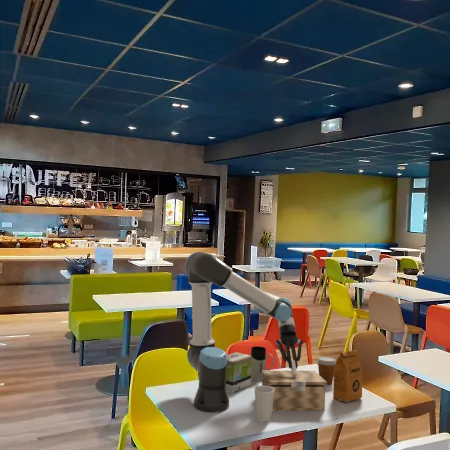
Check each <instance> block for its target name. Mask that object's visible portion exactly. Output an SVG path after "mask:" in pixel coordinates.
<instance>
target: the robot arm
mask: <svg viewBox="0 0 450 450" xmlns="http://www.w3.org/2000/svg"><path fill="white" fill-rule="evenodd" d="M184 267H185V270H186V272H187V276H188V278H187V279H188V281H187V283H189V285H190V286H191V310H192V311H191V313H192V319H191V320H192V339H191V340H189V347H188V349H187V352H186V353H187V354H186V358H187V360H188V363H189V365H190V366H191V367H192V368H193V369H195V371H197V373H198V387H197V391H196V393H195V396H194V399H193V406H194V407H195V409H197V410H199V411H202V412H206V413H216V412H222V411H226V410H228V409H229V407H230V398H229V395H228V391H226V368H227V355H228V354H227V353H226V351H225V350H223V349H222V348H218V347H216V340H215V339H214V338H213V336H212V333H213V332H212V291H211V290H212V289H211V288H212V285H213V284H214V285H216V286H218V287H219V288H222V287H223V288H225V289H227V290H228V291H230V292H232V293H234V295H236V296H238V297H239V298H241V299H243V300H245V301H247V303H249V304H251V305H253V309H254V311H255V312H257V313H259V314H262V315H266V316H268V317H271V318H273V319H275V320H277V322H278V329H279V330H278V331H279V336H280V337H279V339H277V340H275V345H276V346H277V347H278V350H279V352H280V355H281V357H282V359H283V362H286V363H287V364H288V369H290V371H292V376H296V375H297V371H298V370H297V369H298V368H299V365H298V362H300V360H301V358H302V345H303V344H304V340H303V339H301V340H300V339H299V338H298V336H297V332H296V325H295V320H294V315H293V313H294V312H293V307H292V303H291V300H290V299H288V298H287V297H281V298H278V299H276V298H274V297H273V296H272V295H270V294H268V293H267V292H266V291H263V290H261V288H259V287H258V286H255V285H254V284H253V283H251V282H249V281H248V280H246V279H245V278H243V277H242V276H240V275H238V274H237V273H235V272H234V271H233V268H232V267H231V266H229V265H228V264H226V263H225V262H223V261H222V260H221V259H220V258H218V257H216V256H215V255H214V254H212V253H206V252H204V251H197V252H193V253H191V254H190V255H189V256H187V258H186V260H185V266H184ZM296 344H297V345H298V346H297V350H296ZM283 345H284V346H283ZM296 351H297V352H296Z"/></svg>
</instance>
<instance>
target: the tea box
mask: <svg viewBox="0 0 450 450" xmlns="http://www.w3.org/2000/svg"><path fill="white" fill-rule="evenodd" d="M226 355H227V368H226V391H227V393H232V394H233V393H235V392H237V391H239V390H243V389H245V388H247V387H250V386H251V385H252V384H251V383H252V379H251V370H252V356H251V354H250V355H249V354H245V353H241V352H239V351H238V352H237V351H236V352H235V351H234V352H233V353H230V354H226Z"/></svg>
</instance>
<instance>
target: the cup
mask: <svg viewBox="0 0 450 450" xmlns="http://www.w3.org/2000/svg"><path fill="white" fill-rule="evenodd" d="M273 398H274V388H272V387H269V386H262V385H258V386H255V387H254V403H255V405H254V408H255V409H254V410H255V420H256V421H258V422H262V423H269V422H271V421H272V413H273V411H272V406H273ZM268 421H269V422H268Z"/></svg>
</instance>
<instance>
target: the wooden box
mask: <svg viewBox="0 0 450 450" xmlns="http://www.w3.org/2000/svg"><path fill="white" fill-rule="evenodd" d="M261 386H269V387H272V388H274V398H273V406H272V412H273V411H274V412H275V411H279V412H280V411H284V412H285V411H292V412H293V411H325V410H326V409H325V408H326V385H306V386H305V391H291V385H269V384H268V382H267V381H266V379H265V378H264V376H263V375H262V380H261Z"/></svg>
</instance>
